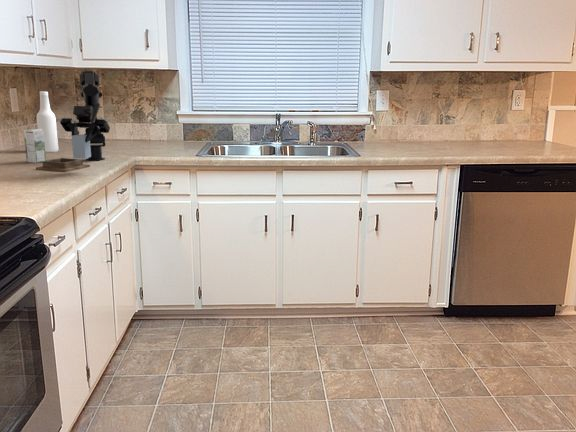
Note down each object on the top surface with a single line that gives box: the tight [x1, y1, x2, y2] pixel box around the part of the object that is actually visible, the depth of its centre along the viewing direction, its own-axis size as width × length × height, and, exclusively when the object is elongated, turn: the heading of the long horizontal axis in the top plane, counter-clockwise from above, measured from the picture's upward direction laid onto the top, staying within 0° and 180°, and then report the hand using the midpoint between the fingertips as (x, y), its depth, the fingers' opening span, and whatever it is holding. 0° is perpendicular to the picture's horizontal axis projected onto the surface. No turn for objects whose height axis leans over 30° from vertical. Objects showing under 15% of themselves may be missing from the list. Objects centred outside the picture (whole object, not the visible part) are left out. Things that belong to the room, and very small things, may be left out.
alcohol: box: [36, 91, 59, 153], centre depth 260 cm, size 9×9×30 cm
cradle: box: [35, 157, 91, 173], centre depth 216 cm, size 15×15×3 cm
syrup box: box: [23, 128, 47, 164], centre depth 229 cm, size 6×6×14 cm
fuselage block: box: [71, 134, 91, 160], centre depth 207 cm, size 5×5×9 cm
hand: (79, 141), depth 205 cm, fingers closed on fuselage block, 5 cm apart
